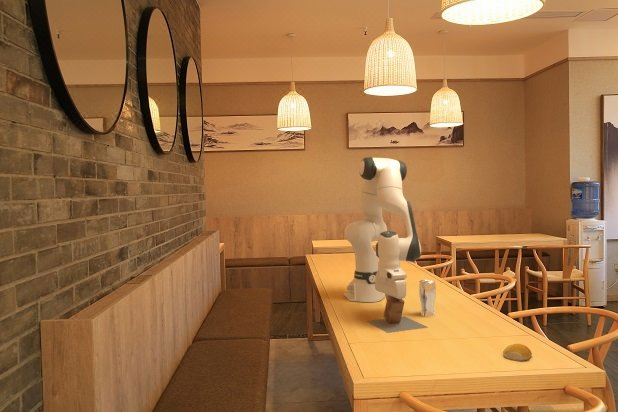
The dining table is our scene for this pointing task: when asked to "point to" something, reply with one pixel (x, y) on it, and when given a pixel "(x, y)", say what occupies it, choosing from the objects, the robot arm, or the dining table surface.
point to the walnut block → (393, 309)
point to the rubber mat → (397, 325)
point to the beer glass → (427, 297)
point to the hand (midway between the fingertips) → (390, 305)
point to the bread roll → (517, 352)
